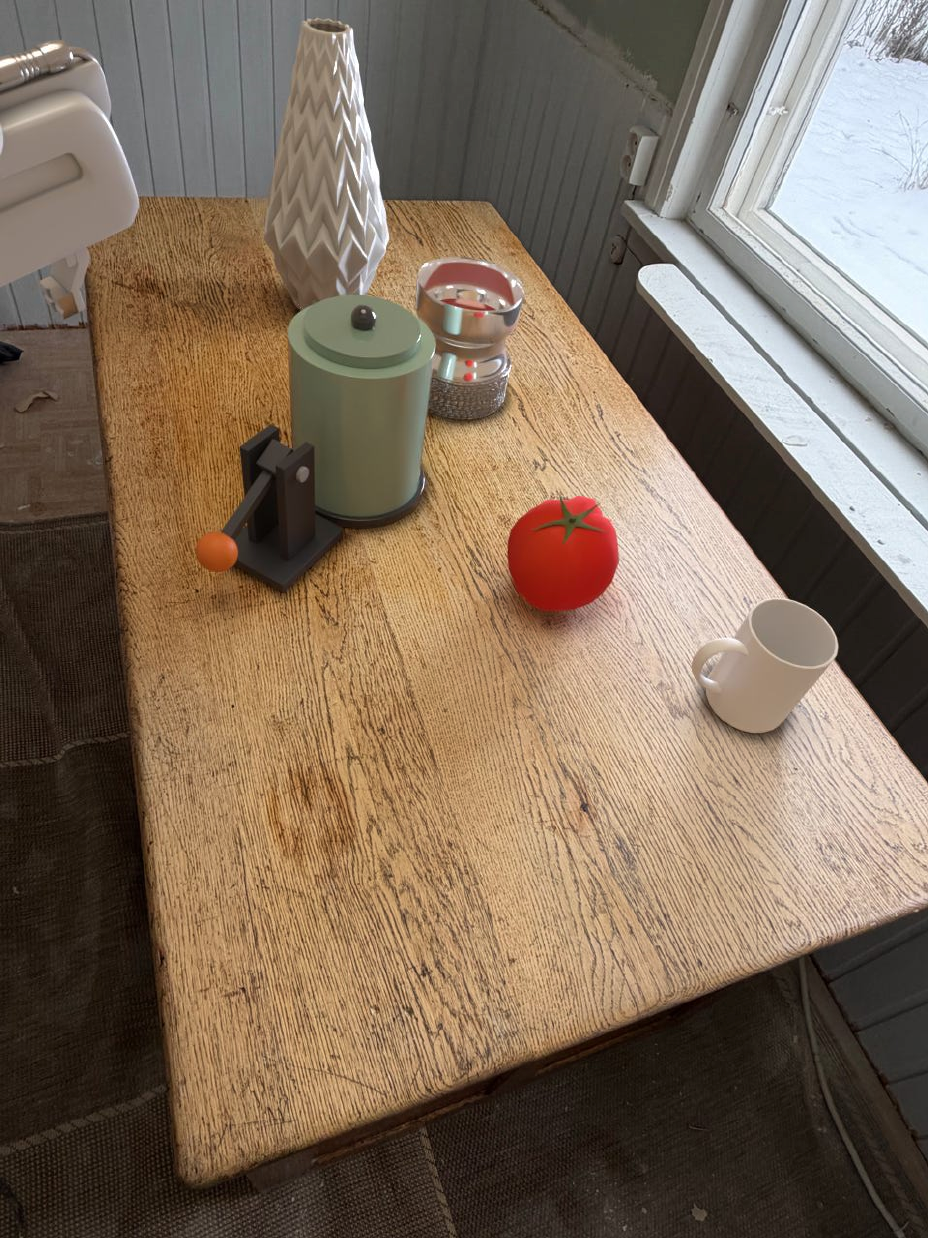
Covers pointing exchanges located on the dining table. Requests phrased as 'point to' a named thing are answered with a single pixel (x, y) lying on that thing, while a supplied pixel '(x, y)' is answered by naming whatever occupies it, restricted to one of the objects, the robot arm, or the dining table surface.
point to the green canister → (361, 405)
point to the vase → (325, 175)
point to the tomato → (563, 554)
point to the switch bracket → (282, 517)
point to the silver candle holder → (468, 333)
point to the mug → (766, 664)
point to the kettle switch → (240, 514)
